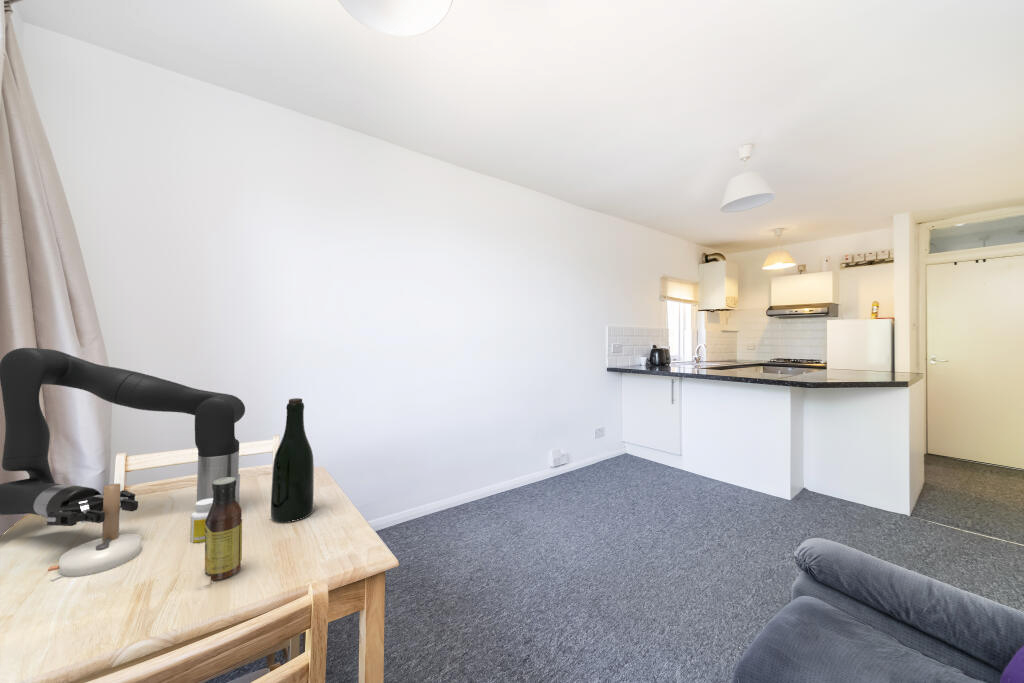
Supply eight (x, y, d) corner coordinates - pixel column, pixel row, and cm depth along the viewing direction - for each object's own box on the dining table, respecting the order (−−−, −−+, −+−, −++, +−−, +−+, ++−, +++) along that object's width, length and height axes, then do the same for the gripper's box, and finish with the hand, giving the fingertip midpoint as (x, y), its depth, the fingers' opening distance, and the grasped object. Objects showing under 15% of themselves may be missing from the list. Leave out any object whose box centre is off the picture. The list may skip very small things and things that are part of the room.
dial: (130, 566, 80) (132, 497, 80) (45, 583, 74) (48, 508, 74) (147, 540, 90) (149, 479, 90) (74, 553, 84) (77, 488, 84)
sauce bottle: (217, 564, 83) (220, 474, 83) (248, 564, 83) (250, 473, 84) (195, 583, 76) (198, 485, 77) (228, 582, 77) (231, 484, 77)
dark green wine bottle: (273, 527, 100) (276, 402, 100) (268, 513, 108) (271, 397, 108) (316, 516, 106) (320, 399, 107) (309, 504, 115) (312, 395, 115)
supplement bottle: (223, 539, 93) (224, 499, 94) (197, 550, 89) (198, 508, 89) (210, 534, 96) (212, 495, 96) (185, 544, 91) (186, 503, 91)
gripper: (22, 498, 82) (77, 508, 78) (107, 476, 96) (157, 483, 92) (21, 533, 82) (76, 544, 78) (106, 506, 96) (156, 514, 92)
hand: (119, 511), depth 85 cm, fingers open, 5 cm apart
